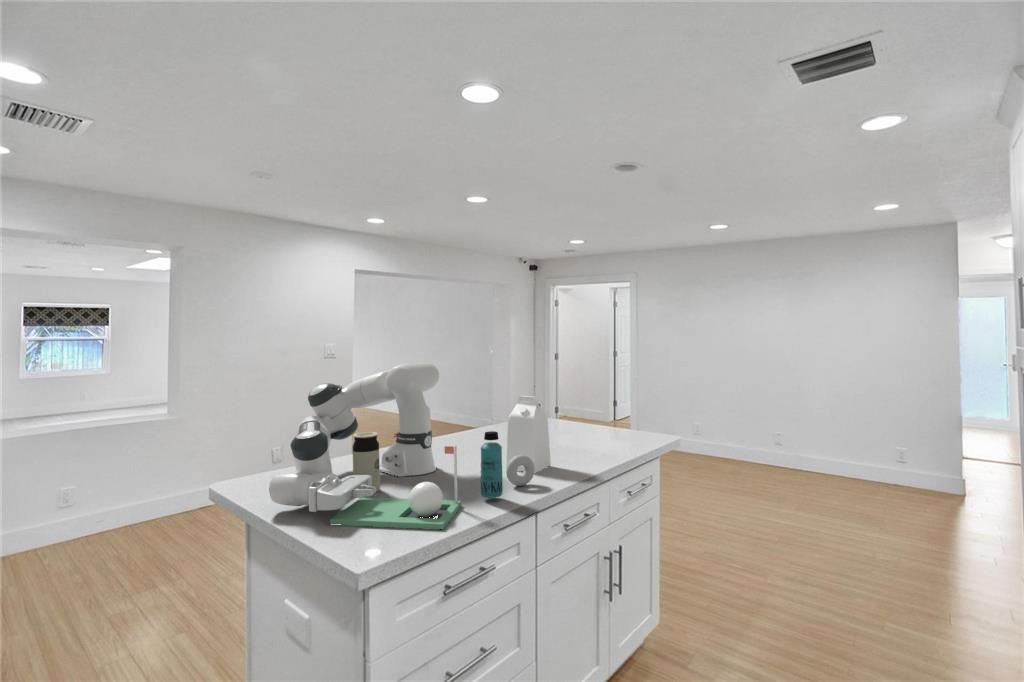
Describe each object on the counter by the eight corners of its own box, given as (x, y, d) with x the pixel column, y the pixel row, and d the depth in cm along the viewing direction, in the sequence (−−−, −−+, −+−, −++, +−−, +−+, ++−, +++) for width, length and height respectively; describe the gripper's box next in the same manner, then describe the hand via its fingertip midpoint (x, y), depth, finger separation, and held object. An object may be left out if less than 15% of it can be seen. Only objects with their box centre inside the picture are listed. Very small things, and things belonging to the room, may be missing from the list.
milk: (550, 466, 186) (549, 395, 185) (535, 473, 176) (533, 398, 176) (522, 462, 192) (521, 393, 192) (506, 469, 182) (504, 397, 182)
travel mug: (348, 493, 157) (346, 435, 157) (364, 486, 164) (362, 431, 164) (369, 496, 154) (368, 437, 154) (384, 488, 161) (383, 432, 161)
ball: (432, 483, 130) (400, 498, 130) (447, 513, 132) (416, 528, 131) (435, 471, 139) (405, 485, 139) (449, 499, 140) (419, 513, 140)
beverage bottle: (480, 497, 151) (479, 430, 151) (502, 495, 152) (501, 429, 152) (481, 504, 145) (479, 434, 145) (504, 503, 145) (502, 433, 145)
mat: (330, 525, 130) (329, 457, 130) (362, 502, 148) (360, 442, 148) (442, 530, 126) (441, 459, 125) (461, 506, 143) (460, 444, 143)
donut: (509, 489, 158) (509, 457, 158) (504, 487, 161) (503, 455, 161) (537, 484, 163) (536, 453, 163) (531, 482, 166) (531, 451, 166)
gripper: (344, 490, 150) (388, 491, 148) (306, 514, 130) (357, 516, 128) (343, 468, 150) (388, 469, 148) (305, 489, 130) (356, 491, 127)
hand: (373, 491), depth 137 cm, fingers closed
